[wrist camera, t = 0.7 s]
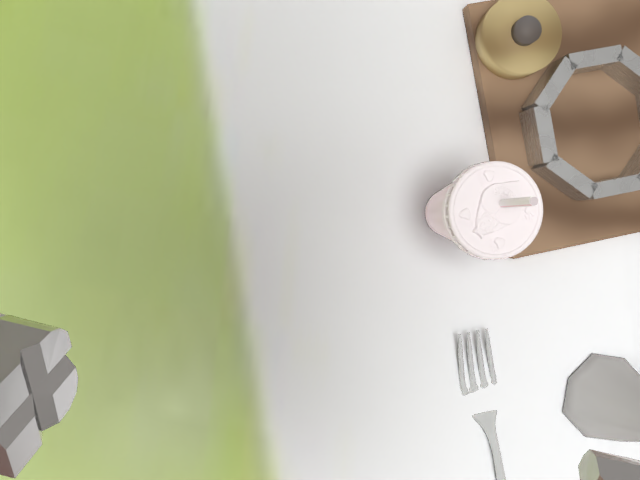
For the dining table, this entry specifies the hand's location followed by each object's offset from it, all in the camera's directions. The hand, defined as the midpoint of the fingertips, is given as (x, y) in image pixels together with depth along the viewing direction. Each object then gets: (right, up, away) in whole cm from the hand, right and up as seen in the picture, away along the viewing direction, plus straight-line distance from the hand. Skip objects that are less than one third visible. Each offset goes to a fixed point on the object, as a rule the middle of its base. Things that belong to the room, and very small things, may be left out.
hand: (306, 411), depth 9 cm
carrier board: (+21, +13, +39) cm, 46 cm away
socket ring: (+21, +12, +38) cm, 45 cm away
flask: (+24, -10, +40) cm, 48 cm away
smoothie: (+10, +5, +38) cm, 40 cm away
